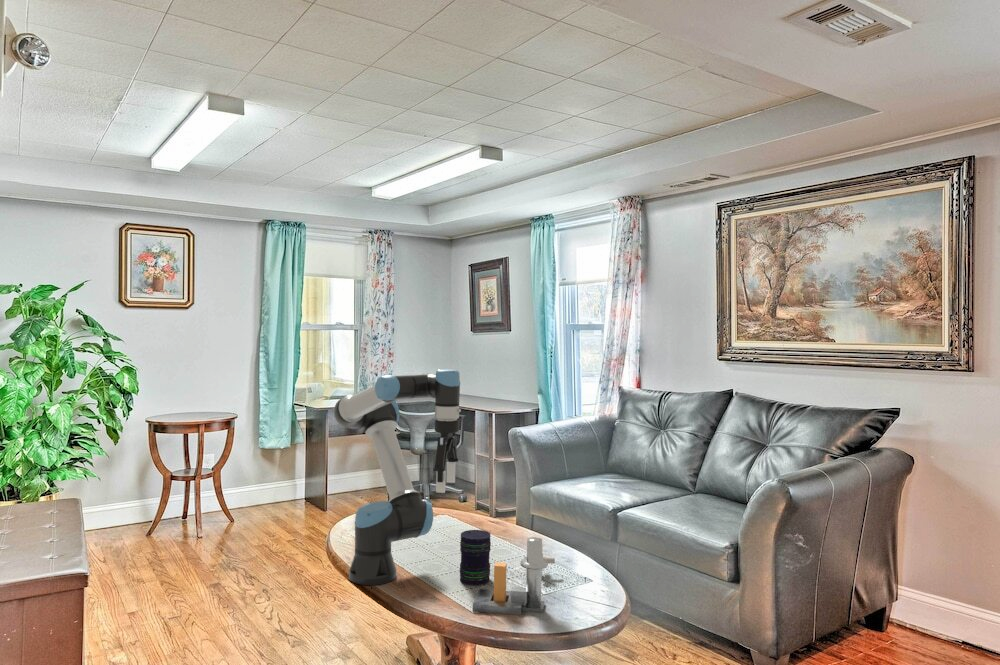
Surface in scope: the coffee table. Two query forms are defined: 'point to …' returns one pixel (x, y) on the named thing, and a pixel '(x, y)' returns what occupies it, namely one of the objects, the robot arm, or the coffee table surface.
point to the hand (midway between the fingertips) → (445, 487)
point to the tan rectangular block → (500, 582)
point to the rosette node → (519, 596)
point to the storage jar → (475, 557)
